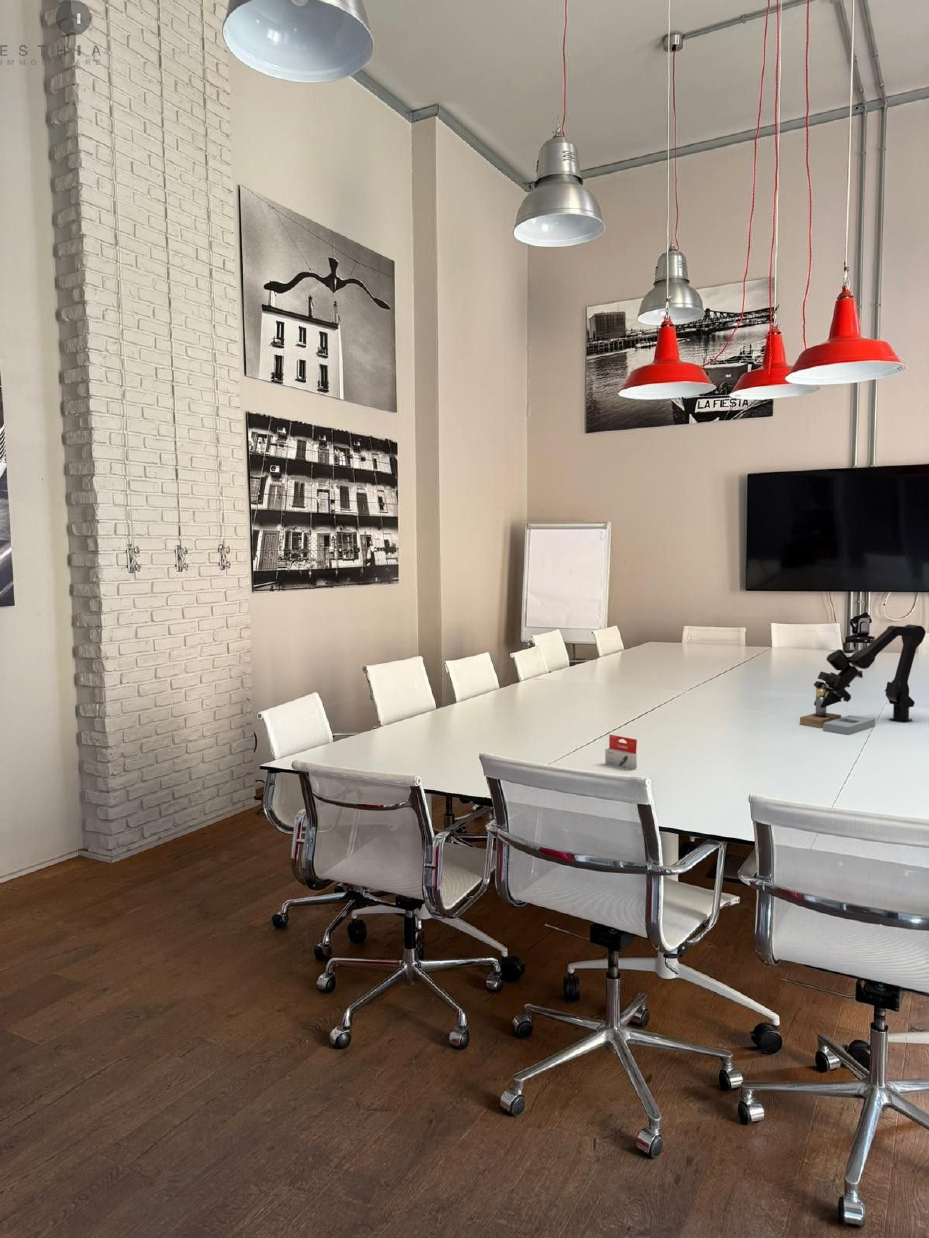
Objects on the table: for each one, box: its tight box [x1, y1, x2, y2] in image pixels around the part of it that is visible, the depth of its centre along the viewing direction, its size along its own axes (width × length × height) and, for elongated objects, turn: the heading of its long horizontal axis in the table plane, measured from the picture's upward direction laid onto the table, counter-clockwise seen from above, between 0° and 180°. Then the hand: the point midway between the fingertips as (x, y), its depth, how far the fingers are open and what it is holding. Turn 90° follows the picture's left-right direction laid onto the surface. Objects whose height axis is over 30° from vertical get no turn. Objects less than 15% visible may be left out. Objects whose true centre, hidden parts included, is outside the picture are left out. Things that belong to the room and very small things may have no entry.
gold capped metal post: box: [815, 688, 827, 718], centre depth 330 cm, size 4×4×14 cm
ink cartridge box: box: [604, 734, 638, 771], centre depth 269 cm, size 2×11×10 cm, turn 44°
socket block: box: [799, 712, 842, 729], centre depth 330 cm, size 16×9×3 cm, turn 130°
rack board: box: [822, 714, 876, 736], centre depth 321 cm, size 22×10×3 cm, turn 130°
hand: (817, 706), depth 330 cm, fingers open, 4 cm apart
